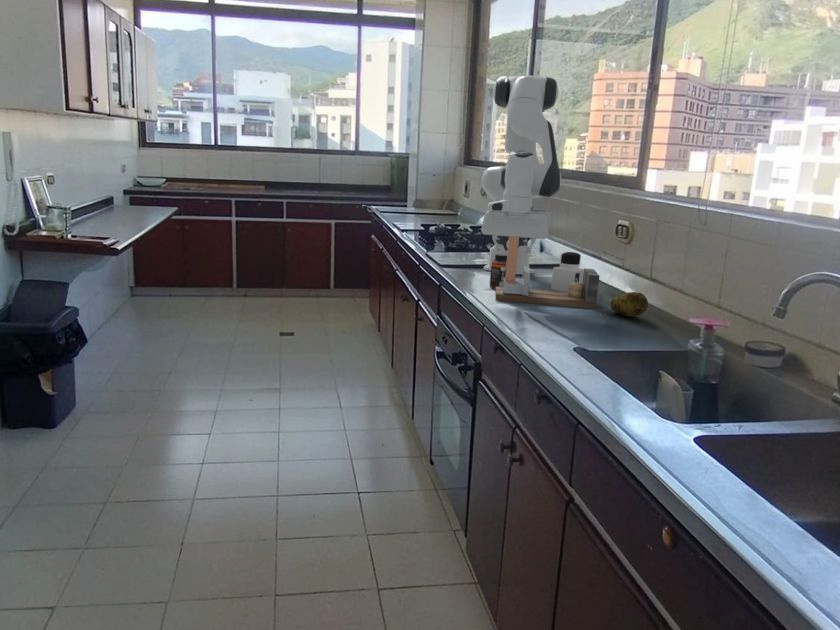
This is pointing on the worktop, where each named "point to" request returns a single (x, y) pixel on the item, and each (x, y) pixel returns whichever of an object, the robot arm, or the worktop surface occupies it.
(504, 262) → the supplement bottle
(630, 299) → the potato
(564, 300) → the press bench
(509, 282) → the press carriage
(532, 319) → the worktop surface
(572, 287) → the beige rounded cylinder
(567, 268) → the container
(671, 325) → the worktop surface
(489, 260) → the robot arm
